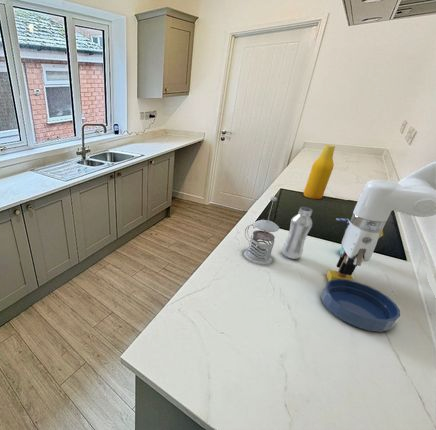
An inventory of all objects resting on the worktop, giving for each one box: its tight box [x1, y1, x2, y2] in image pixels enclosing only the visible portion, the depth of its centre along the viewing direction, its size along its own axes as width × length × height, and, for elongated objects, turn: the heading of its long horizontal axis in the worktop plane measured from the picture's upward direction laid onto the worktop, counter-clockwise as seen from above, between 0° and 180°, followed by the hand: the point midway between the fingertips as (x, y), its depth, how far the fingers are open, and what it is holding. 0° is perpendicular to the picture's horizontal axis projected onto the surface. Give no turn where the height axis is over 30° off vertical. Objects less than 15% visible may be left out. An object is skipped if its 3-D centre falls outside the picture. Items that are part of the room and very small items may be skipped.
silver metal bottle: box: [281, 206, 313, 260], centre depth 96 cm, size 6×7×20 cm
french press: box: [243, 196, 280, 265], centre depth 96 cm, size 10×12×25 cm
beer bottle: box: [303, 144, 336, 200], centre depth 145 cm, size 9×9×29 cm
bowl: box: [320, 279, 401, 333], centre depth 76 cm, size 16×16×4 cm
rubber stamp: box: [326, 255, 355, 282], centre depth 85 cm, size 6×4×10 cm, turn 65°
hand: (343, 270), depth 86 cm, fingers closed on rubber stamp, 2 cm apart
